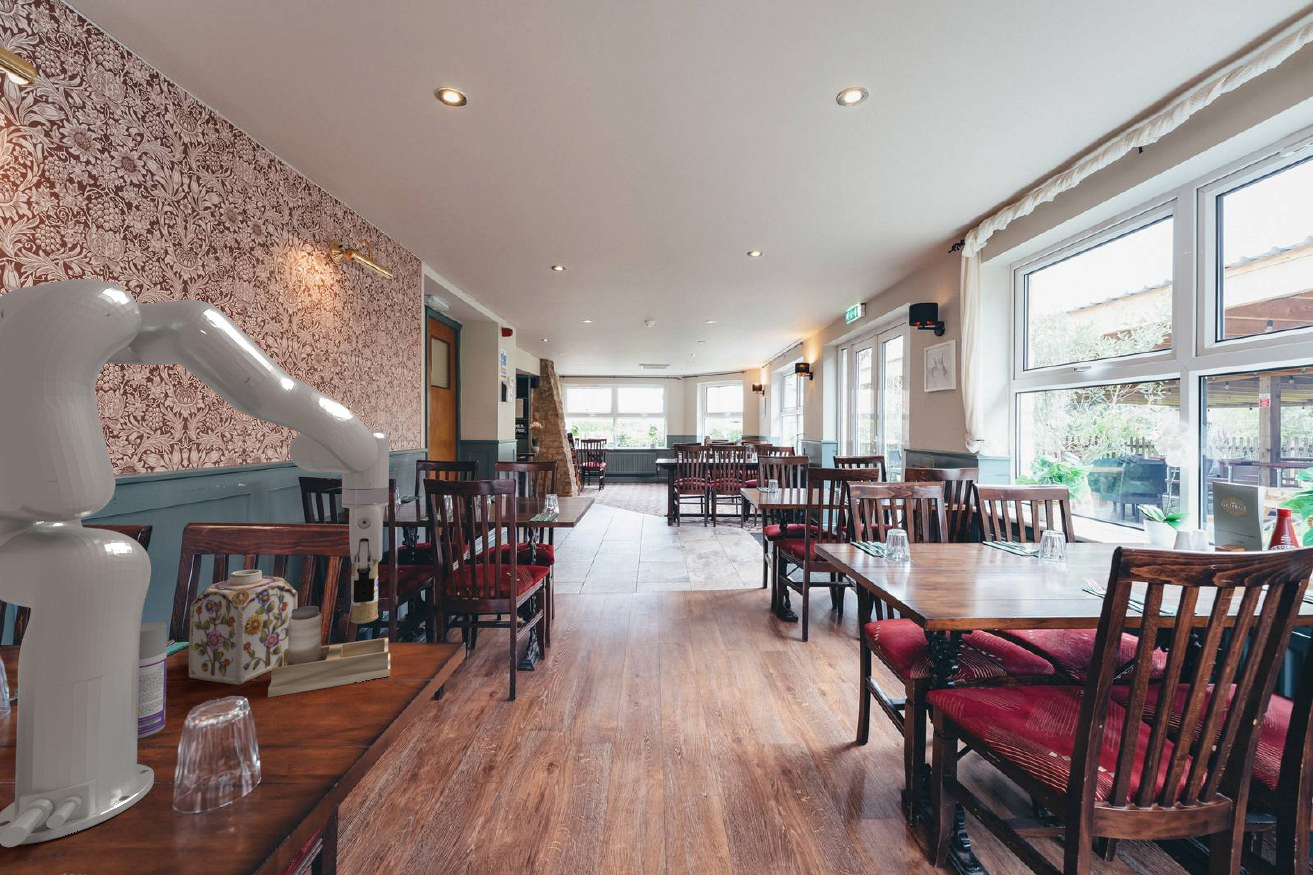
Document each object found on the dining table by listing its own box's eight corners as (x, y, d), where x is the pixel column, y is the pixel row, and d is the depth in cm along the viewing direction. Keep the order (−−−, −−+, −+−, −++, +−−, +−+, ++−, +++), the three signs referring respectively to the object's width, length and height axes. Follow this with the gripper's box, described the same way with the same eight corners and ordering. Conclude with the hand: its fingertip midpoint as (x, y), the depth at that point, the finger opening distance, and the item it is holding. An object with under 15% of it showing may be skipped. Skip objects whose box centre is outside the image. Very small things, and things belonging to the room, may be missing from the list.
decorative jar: (185, 679, 95) (188, 576, 95) (250, 654, 106) (252, 563, 106) (239, 686, 92) (241, 581, 92) (299, 660, 103) (301, 566, 104)
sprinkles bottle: (379, 621, 98) (380, 547, 98) (350, 626, 95) (351, 550, 95) (376, 614, 101) (377, 543, 102) (349, 619, 99) (349, 545, 99)
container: (131, 726, 79) (134, 623, 79) (171, 720, 81) (173, 620, 81) (112, 742, 75) (115, 634, 75) (155, 736, 76) (157, 630, 76)
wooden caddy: (390, 677, 96) (391, 606, 96) (268, 697, 88) (269, 619, 88) (390, 660, 104) (391, 594, 104) (277, 677, 96) (278, 606, 96)
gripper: (388, 501, 93) (387, 608, 92) (388, 493, 108) (387, 584, 107) (338, 503, 89) (336, 614, 89) (345, 494, 104) (344, 588, 104)
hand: (364, 596), depth 98 cm, fingers closed on sprinkles bottle, 4 cm apart
